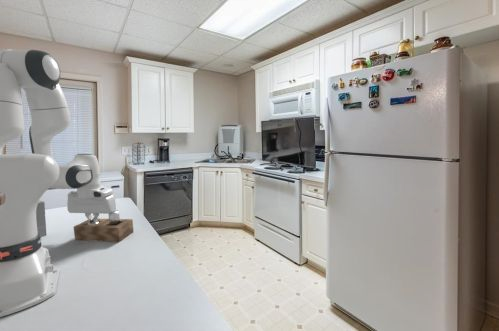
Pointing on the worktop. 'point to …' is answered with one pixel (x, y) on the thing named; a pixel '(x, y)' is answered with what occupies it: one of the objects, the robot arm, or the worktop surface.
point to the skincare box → (41, 218)
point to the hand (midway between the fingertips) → (93, 222)
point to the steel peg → (114, 218)
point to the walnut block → (103, 231)
